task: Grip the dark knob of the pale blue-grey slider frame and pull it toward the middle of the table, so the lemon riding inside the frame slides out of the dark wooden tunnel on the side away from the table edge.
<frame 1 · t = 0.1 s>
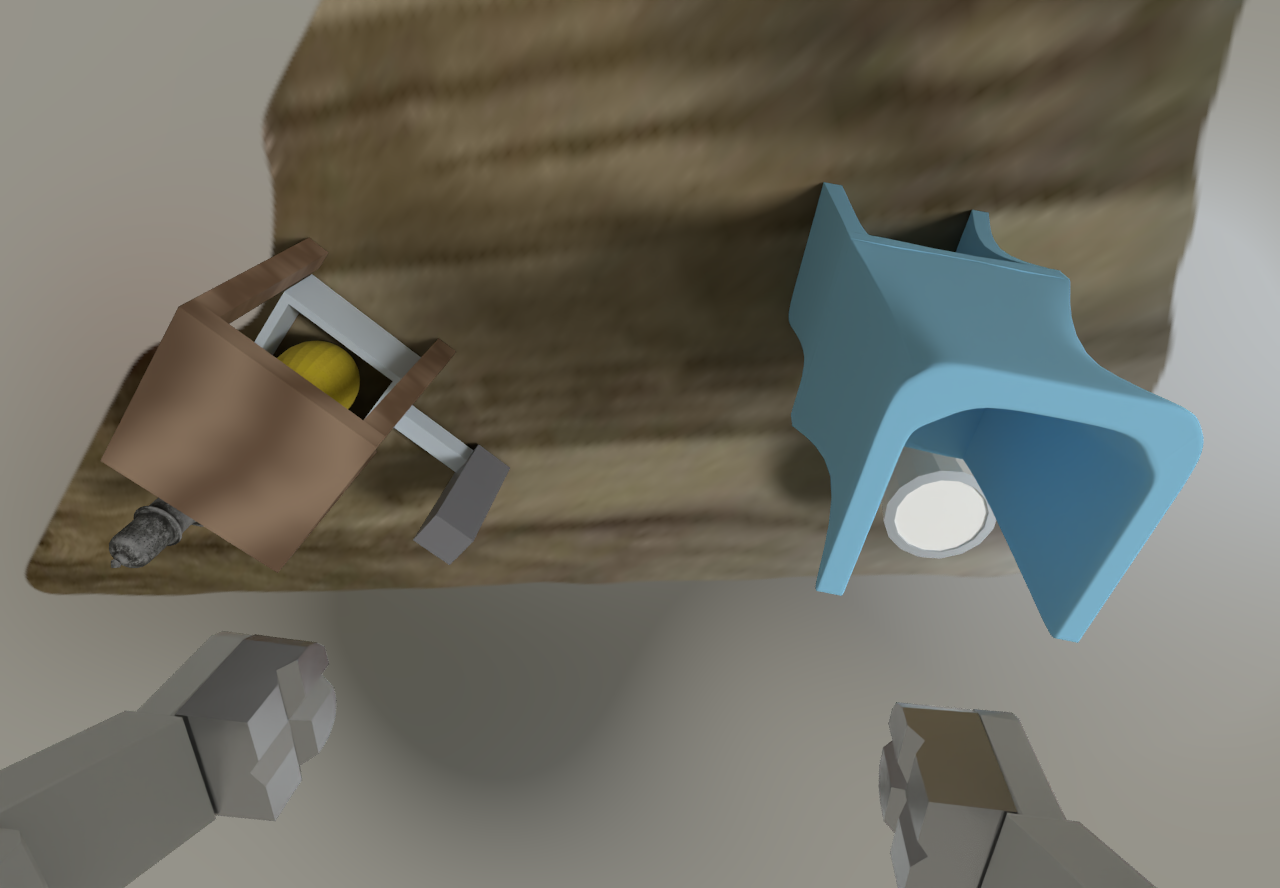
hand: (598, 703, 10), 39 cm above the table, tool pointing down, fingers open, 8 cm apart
gray stone ornament: (220, 470, 60), on the table
slider: (370, 433, 50), point 5 cm above the table, slide at 0.0 cm
blue angular vessel: (878, 276, 46), on the table
grey white cylinder: (917, 457, 52), on the table
tunnel: (341, 359, 53), on the table
lemon: (342, 358, 53), resting in slider
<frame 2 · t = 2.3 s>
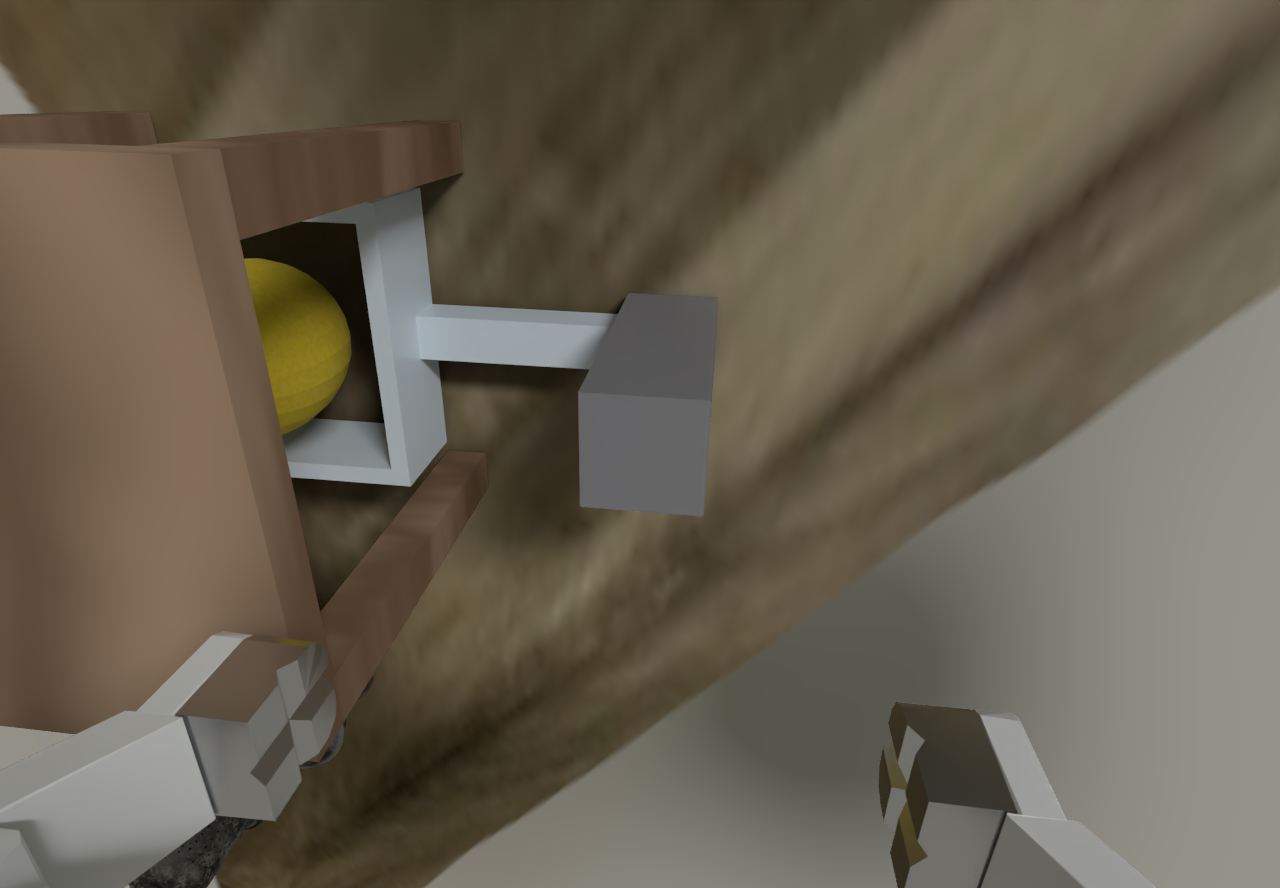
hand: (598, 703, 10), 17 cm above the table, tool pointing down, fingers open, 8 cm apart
gray stone ornament: (321, 658, 34), on the table
slider: (390, 369, 22), point 5 cm above the table, slide at 0.0 cm
tunnel: (315, 315, 26), on the table
lemon: (318, 313, 27), resting in slider
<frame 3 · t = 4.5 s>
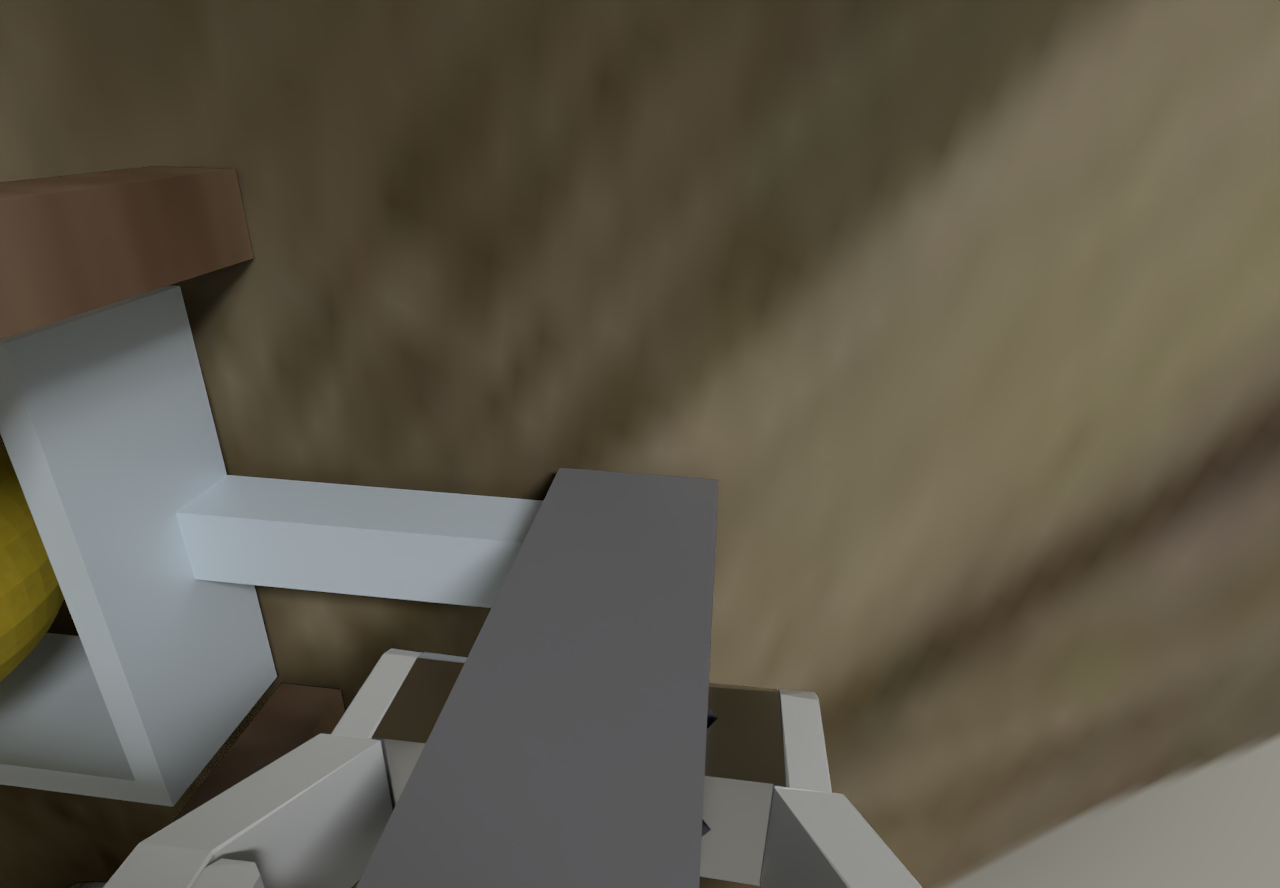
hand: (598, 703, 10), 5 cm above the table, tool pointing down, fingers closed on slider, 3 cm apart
slider: (71, 657, 11), point 5 cm above the table, slide at 0.1 cm, touching gripper
tunnel: (42, 482, 16), on the table
lemon: (50, 478, 16), resting in slider
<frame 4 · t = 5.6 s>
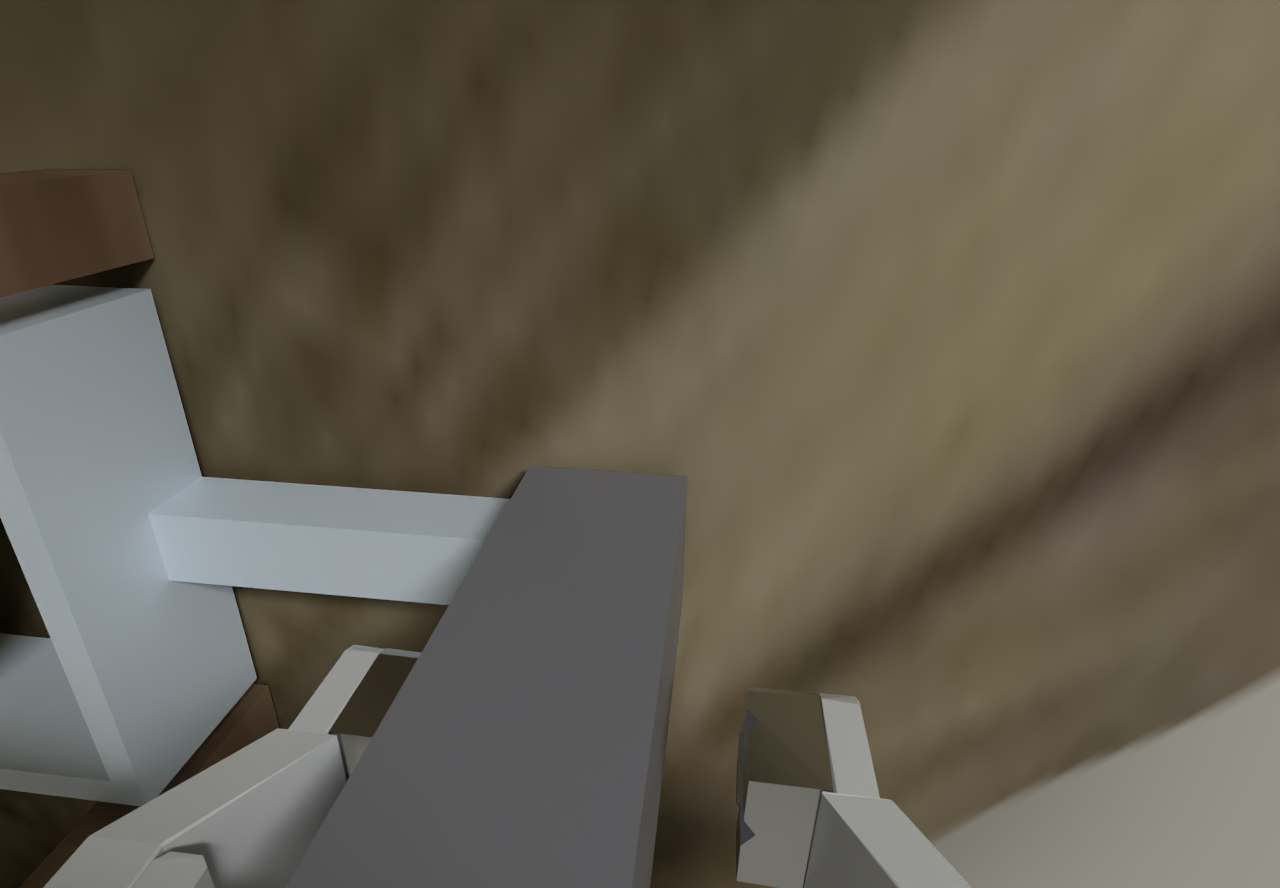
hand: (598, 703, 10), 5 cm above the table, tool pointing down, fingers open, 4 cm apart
slider: (38, 657, 11), point 5 cm above the table, slide at 1.4 cm, touching gripper, lemon
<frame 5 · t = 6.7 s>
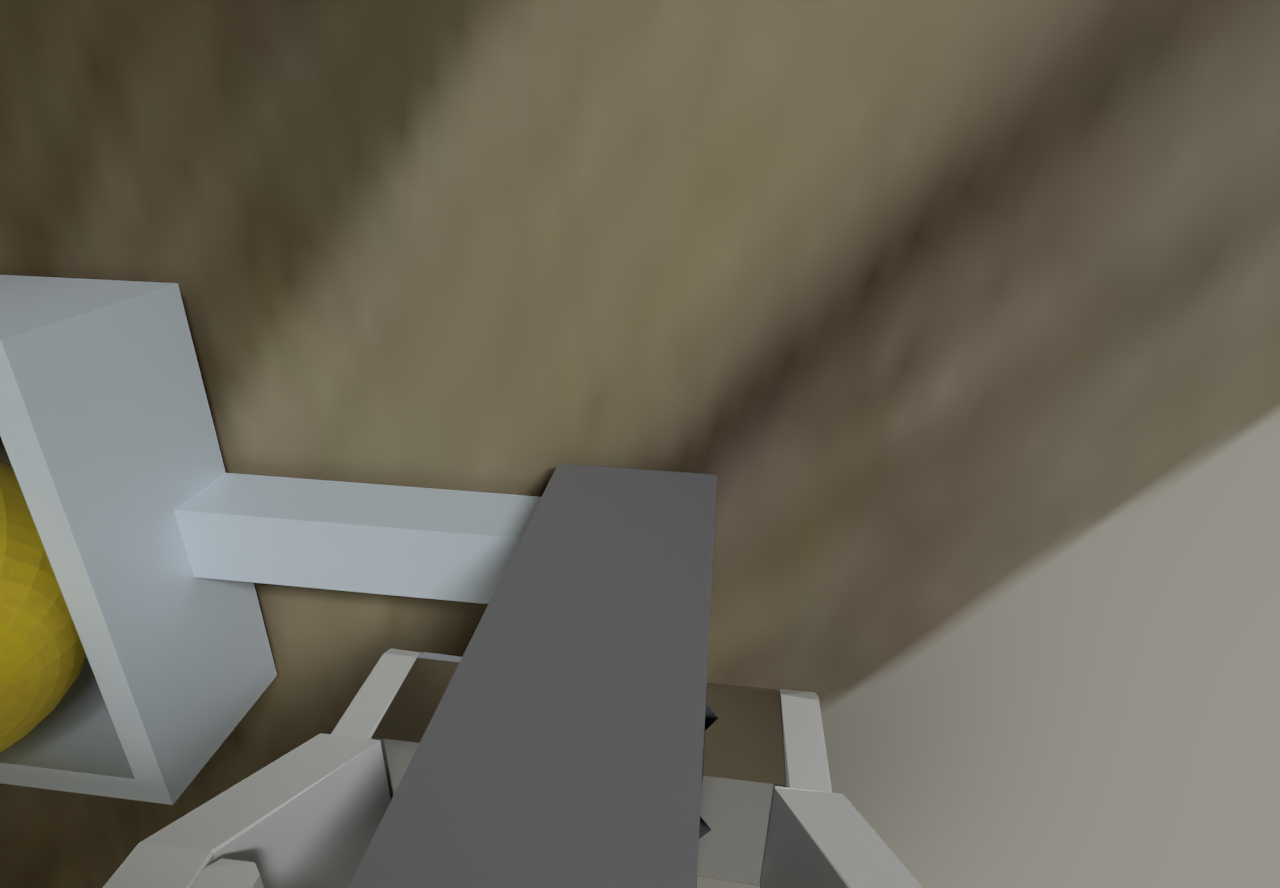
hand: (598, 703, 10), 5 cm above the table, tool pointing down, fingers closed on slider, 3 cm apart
slider: (70, 654, 11), point 5 cm above the table, slide at 8.5 cm, touching gripper, lemon
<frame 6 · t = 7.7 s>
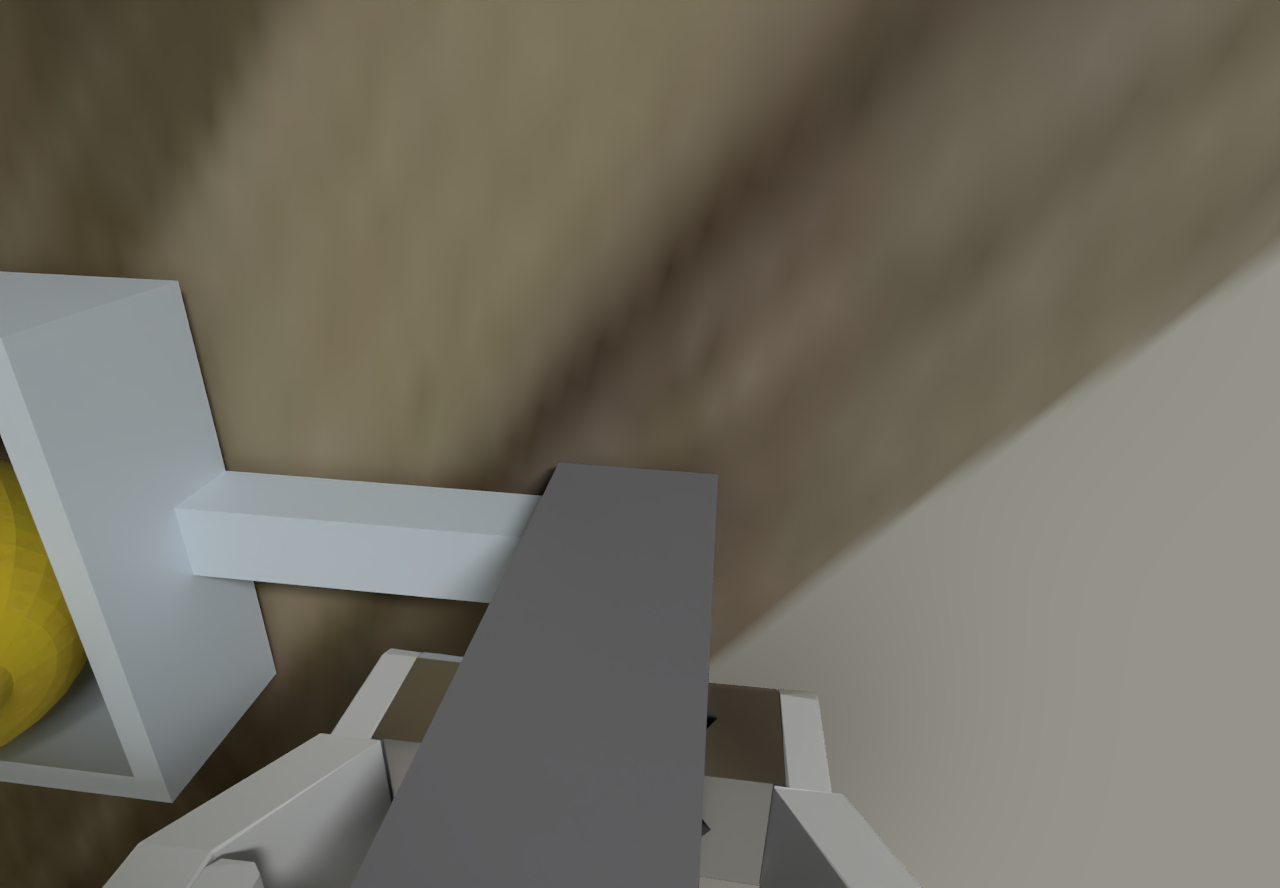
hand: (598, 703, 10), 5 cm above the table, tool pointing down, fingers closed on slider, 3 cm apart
slider: (69, 652, 11), point 5 cm above the table, slide at 11.9 cm, touching gripper, lemon
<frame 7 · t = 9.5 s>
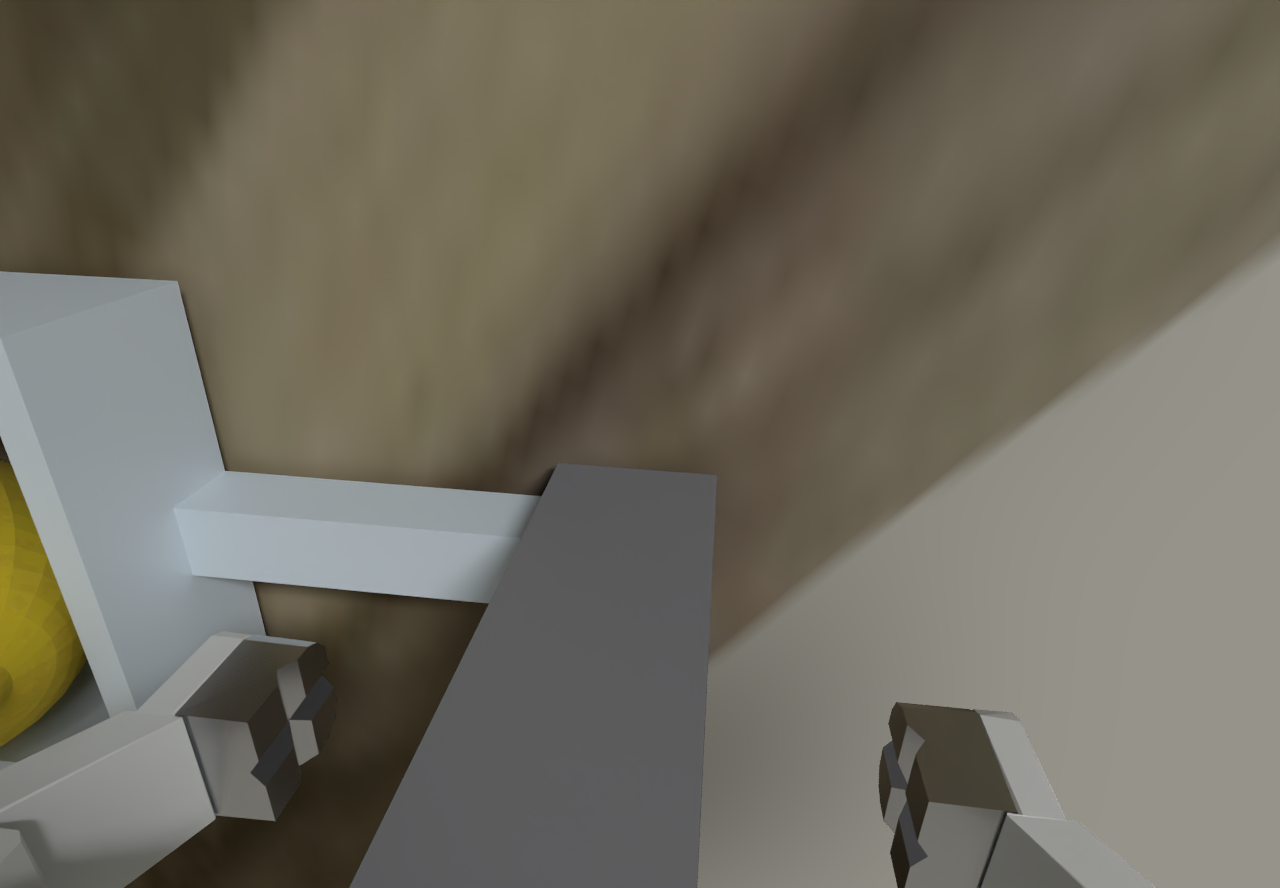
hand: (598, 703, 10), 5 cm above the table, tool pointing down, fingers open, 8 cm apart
slider: (69, 652, 11), point 5 cm above the table, slide at 12.0 cm, touching lemon
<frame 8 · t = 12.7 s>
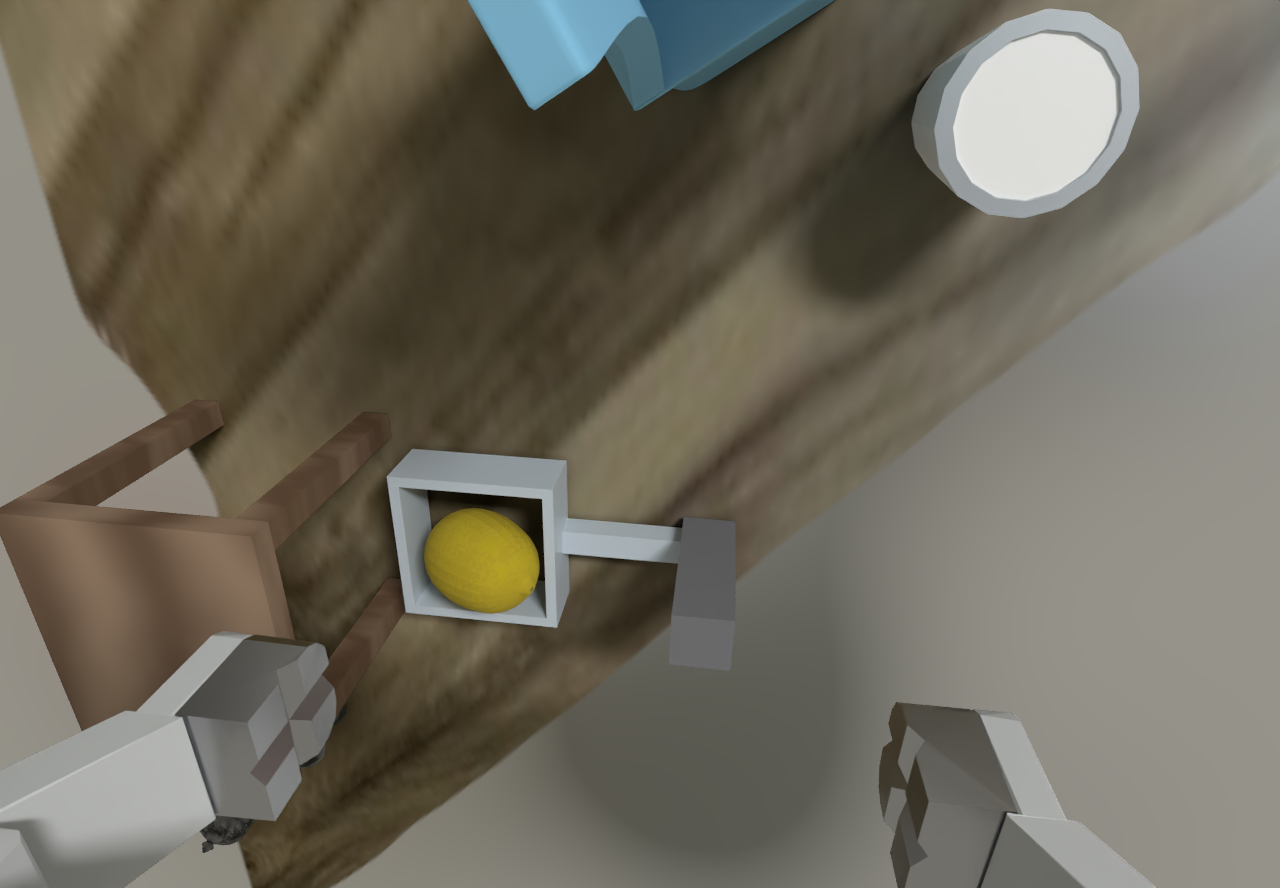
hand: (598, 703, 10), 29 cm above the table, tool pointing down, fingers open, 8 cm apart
gray stone ornament: (312, 697, 53), on the table
slider: (557, 573, 40), point 5 cm above the table, slide at 12.0 cm, touching lemon
grey white cylinder: (976, 115, 32), on the table
tunnel: (309, 504, 45), on the table
lemon: (432, 530, 44), point 1 cm above the table, touching slider
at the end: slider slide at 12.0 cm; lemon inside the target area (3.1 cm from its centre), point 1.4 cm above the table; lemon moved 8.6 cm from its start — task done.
